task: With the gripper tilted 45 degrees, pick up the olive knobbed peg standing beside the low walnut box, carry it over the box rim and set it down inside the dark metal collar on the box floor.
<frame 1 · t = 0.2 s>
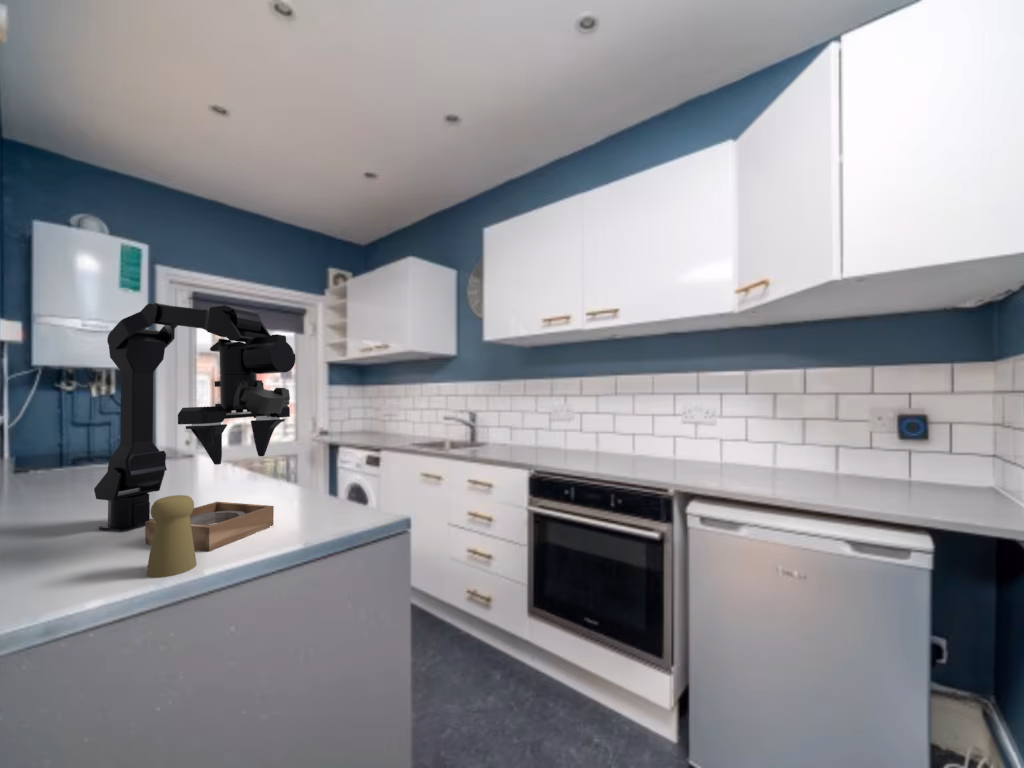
hand: (240, 460, 78), 14 cm above the counter, tool pointing down, fingers open, 9 cm apart
socket box: (213, 534, 81), on the counter
olive knobbed peg: (172, 570, 65), on the counter
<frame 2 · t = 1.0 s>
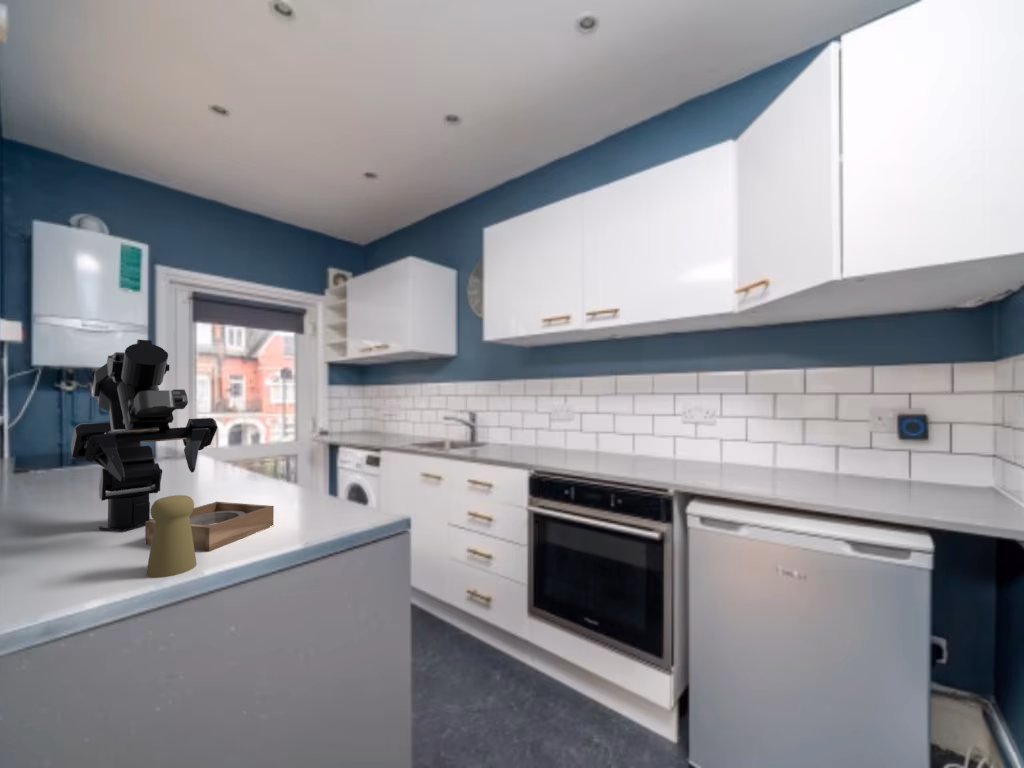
hand: (159, 475, 70), 13 cm above the counter, tool tilted 45°, fingers open, 9 cm apart
nothing on the counter moved.
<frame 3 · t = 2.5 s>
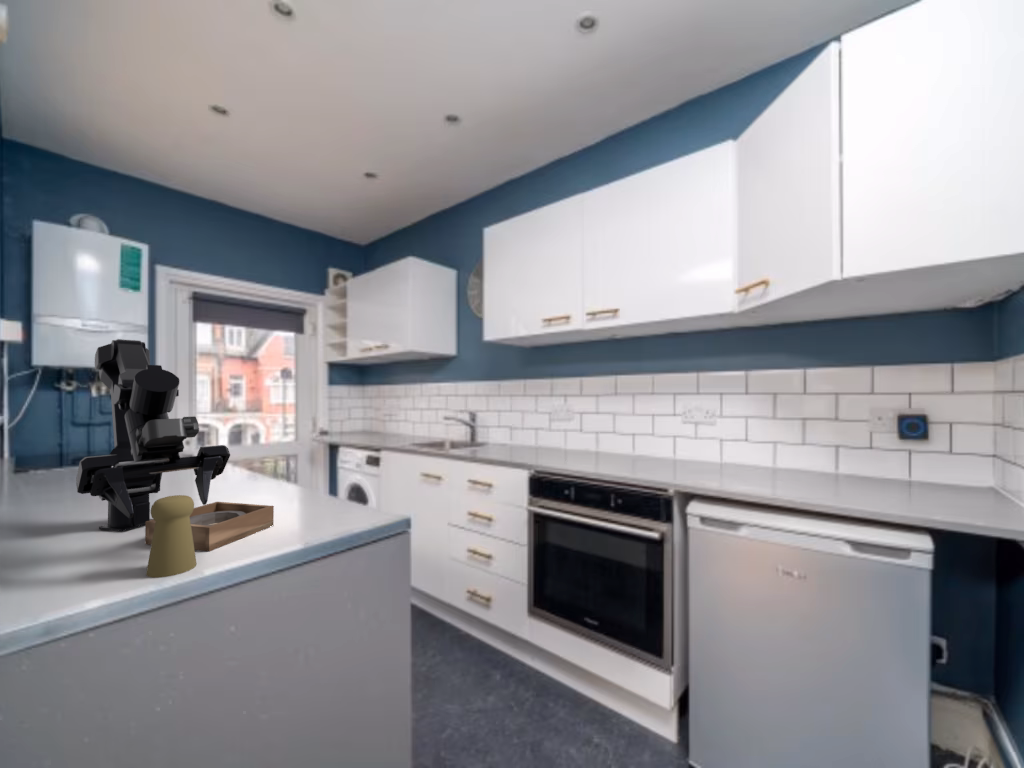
hand: (170, 509, 66), 9 cm above the counter, tool tilted 45°, fingers open, 9 cm apart
nothing on the counter moved.
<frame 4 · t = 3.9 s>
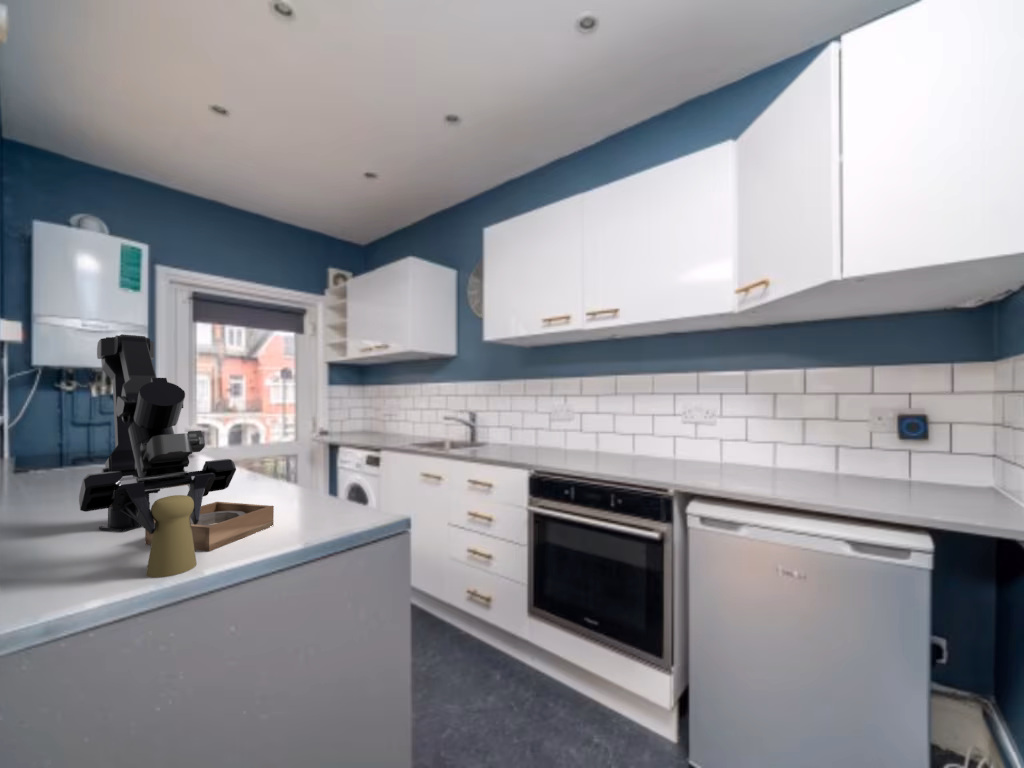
hand: (175, 527, 64), 7 cm above the counter, tool tilted 45°, fingers closed on olive knobbed peg, 5 cm apart
olive knobbed peg: (172, 570, 65), on the counter, touching gripper
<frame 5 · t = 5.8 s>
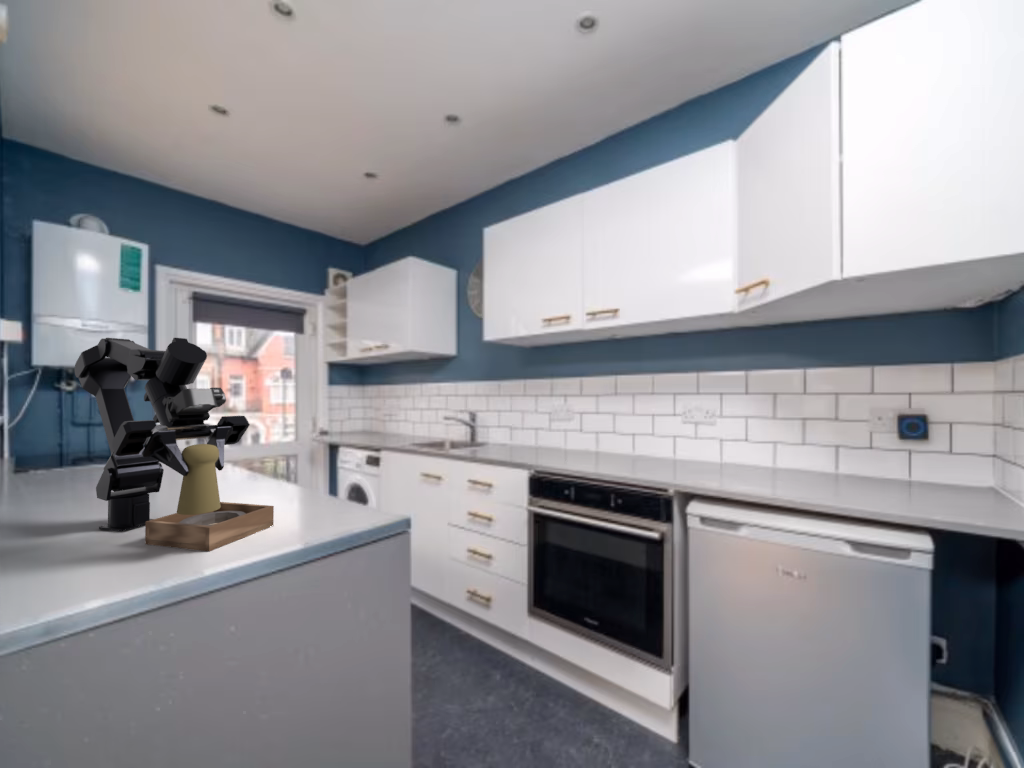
hand: (204, 471, 72), 14 cm above the counter, tool tilted 45°, fingers closed on olive knobbed peg, 5 cm apart
olive knobbed peg: (199, 510, 72), point 7 cm above the counter, touching gripper
when the fingers open (8 cm above the counter, at t = 8.0 s): olive knobbed peg stays where it is, resting on socket box.
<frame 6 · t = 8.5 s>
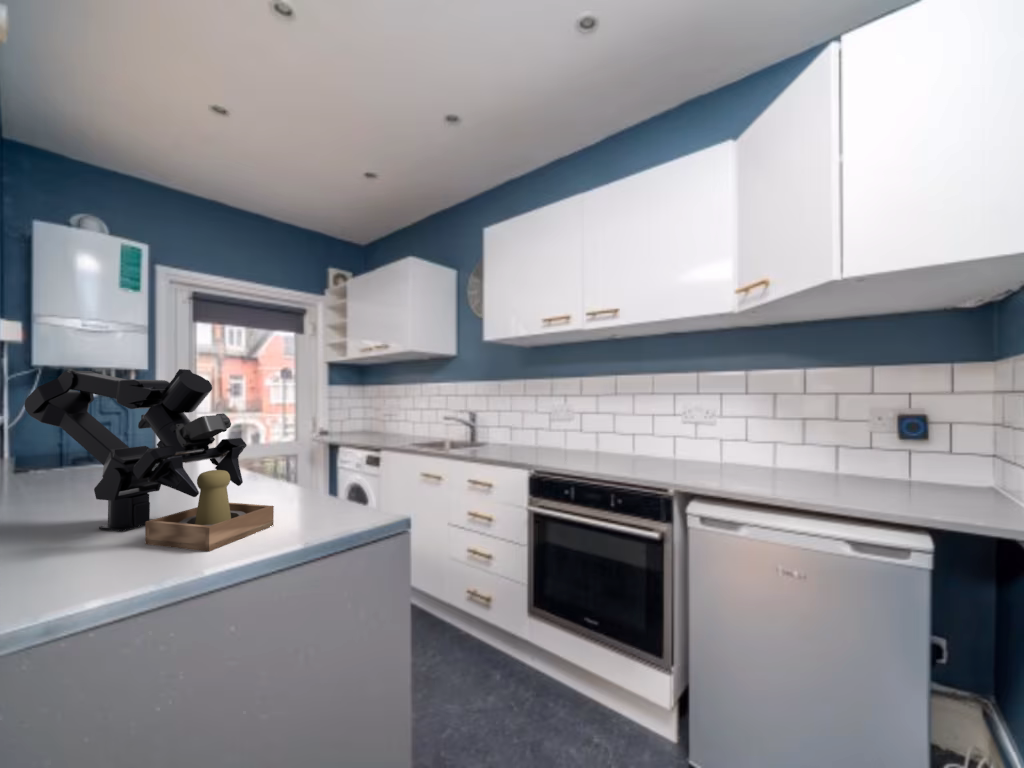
hand: (220, 489, 80), 9 cm above the counter, tool tilted 45°, fingers open, 9 cm apart
olive knobbed peg: (213, 530, 81), point 1 cm above the counter, touching socket box
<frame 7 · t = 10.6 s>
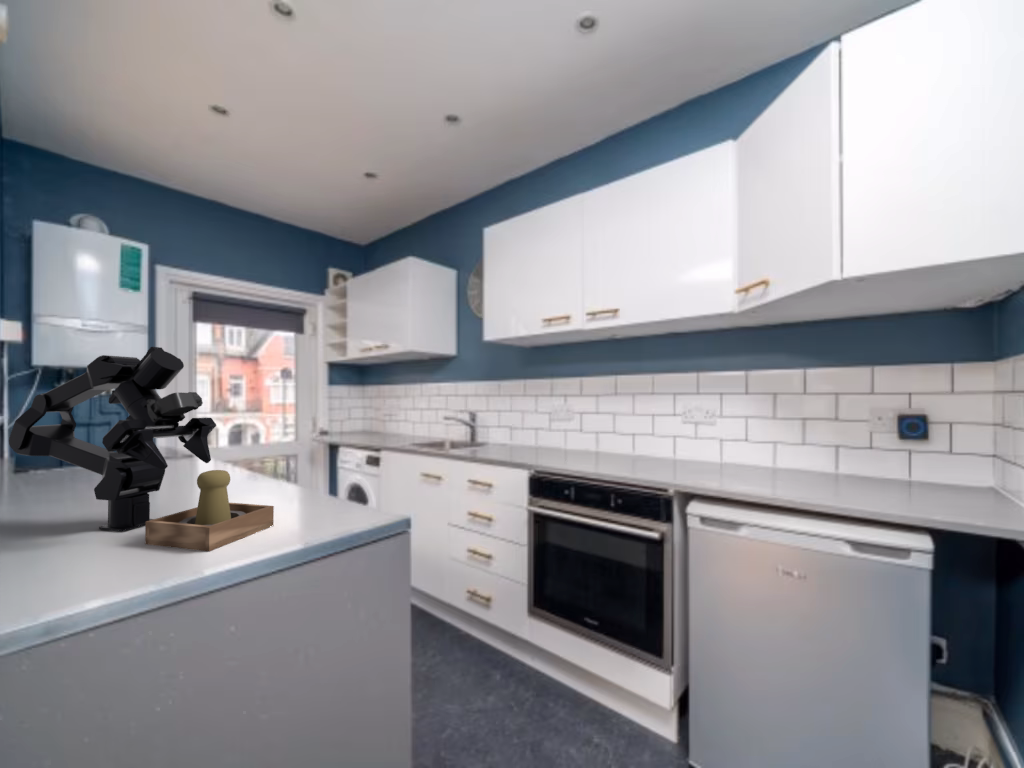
hand: (188, 464, 83), 13 cm above the counter, tool tilted 45°, fingers open, 9 cm apart
nothing on the counter moved.
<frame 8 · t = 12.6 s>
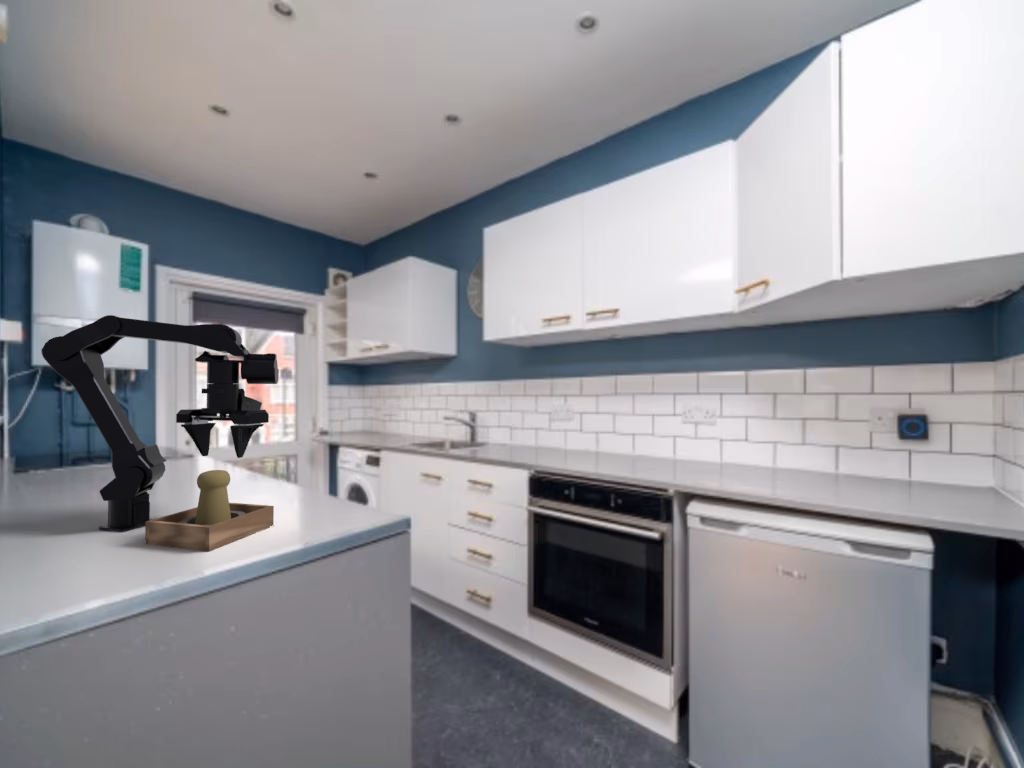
hand: (222, 456, 91), 13 cm above the counter, tool pointing down, fingers open, 9 cm apart
nothing on the counter moved.
at the end: olive knobbed peg 0.1 cm off-centre on the socket box, point 0.8 cm above the socket box's base; olive knobbed peg tilted 0°; the gripper is holding nothing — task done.
